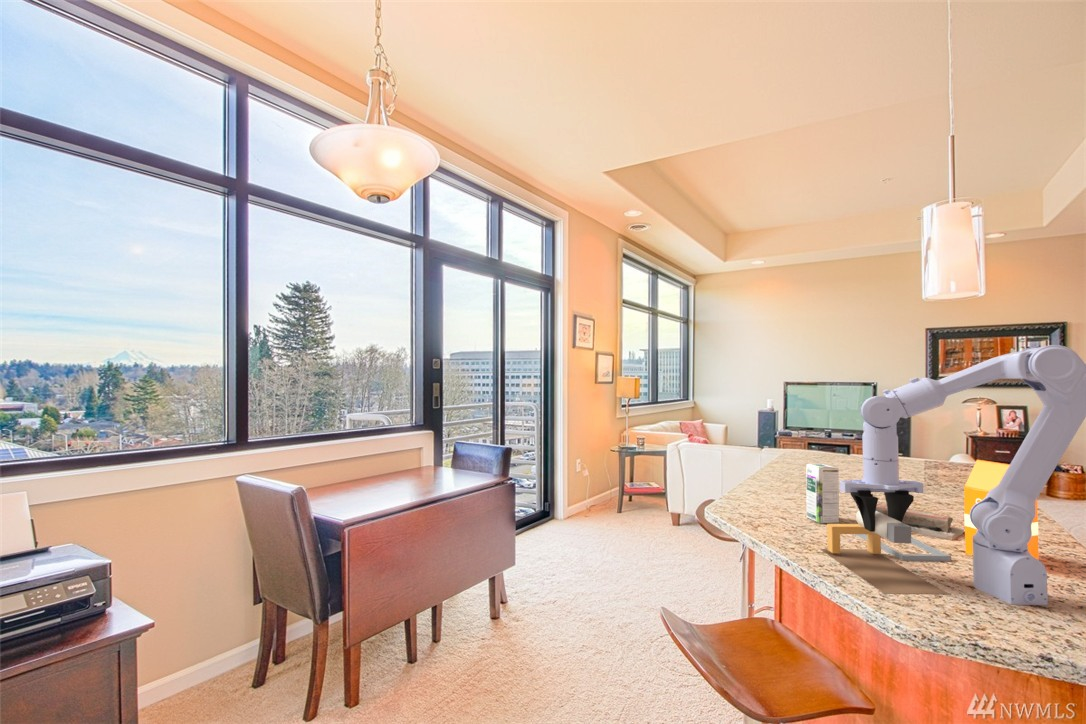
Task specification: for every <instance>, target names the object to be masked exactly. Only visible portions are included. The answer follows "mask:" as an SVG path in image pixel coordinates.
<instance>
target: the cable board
mask: <svg viewBox="0 0 1086 724" xmlns="http://www.w3.org/2000/svg"><path fill="white" fill-rule="evenodd" d="M819 550H820V551H822V552H823V553H825V554H826V555H828V556H829V557H830V558H832V559H833V560H834V561H836V562H838V563H839V564H840V565H842V566H843V567H845V568H846V569H848V570H849V571H850V572H852V573H853V574H855V575H856V576H858V577H859V578H861V579H862V580H864V581H865V582H866V583H868V584H869V585H871V586H872V587H874V588H875V589H877V591H880V592H881V593H882V594H883V595H947V596H949V595H951V594H950V593H948V592H947V591H945V590H944V589H942V588H941V587H938V586H937V585H935V584H934V583H931V582H929V581H928V580H926V579H924V578H923V577H921V576H919V575H917V574H916V573H914V572H912V571H910V570H909V569H907V568H905V567H904V566H902V565H900V564H899V563H897V562H895V561H893V560H891V559H889V558H888V557H886V556H885V555H883V554H873V553H871V552H869V551H868V550H867V548H866V549H864V548H863V549H861V548H859V549H858V548H857V549H856V548H855V549H854V548H851V549H850V548H847V549H846V548H840V553H831V552H830V551H828V548H820V549H819Z"/></svg>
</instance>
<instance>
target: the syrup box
mask: <svg viewBox="0 0 1086 724" xmlns="http://www.w3.org/2000/svg"><path fill="white" fill-rule="evenodd" d="M805 467H806V470H805V474H806V475H805V476H806V478H805V479H806V480H805V481H806V485H805V487H806V488H805V489H806V492H805V493H806V494H805V495H806V496H805V497H806V504H805V506H806V516H805V517H806V518H807V519H810V520H812V521H813V522H815V523H818V524H840V516H839V515H840V499H839V497H840V496H839V494H840V493H839V492H840V480H839V478H840V477H839V473H840V472H839V471H840V470H839V467H836V466H832V465H829V464H825V463H816V462H815V463H807V464H806V466H805Z"/></svg>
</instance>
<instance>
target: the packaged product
mask: <svg viewBox="0 0 1086 724" xmlns="http://www.w3.org/2000/svg"><path fill="white" fill-rule="evenodd" d="M876 511H878V512H880V513H882V514H884V515H887V516H888V509H887V503H886V504H885V503H880V502H879V503H878V502H877V506H876ZM953 521H954V519H953V517H951V516H948V515H943V514H939V513H934V512H928V511H924V510H920V509H919V510H918V509H913V508H908V509H907V511H906V513H905V515H904V518H903V520H902V523H904V524H906V525H909V526H911V534H912V533H913V534H918V535H923V536H927V537H930V538H931V537H932V538H937V539H943V540H947V541H953V540H955V539H956V538H958V537H960V536H962V535H963V533H964V534H965V528H961V527H959V528H957V527H955V526H952V522H953Z"/></svg>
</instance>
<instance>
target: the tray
mask: <svg viewBox="0 0 1086 724" xmlns="http://www.w3.org/2000/svg"><path fill="white" fill-rule="evenodd" d="M854 535H855V536H857V537H859V538H861V539H863V540H864V541H866V542H867V534H854ZM910 544H912V545H913V546H916V547H917V548H919V549H921V550H924V551H926V552H928V553H929V554H928V553H927V554H926V553H924V554H923V553H922V554H921V553H909V554H908V553H903V552H901V551H899V550H897V549H895V548H893V547H891V546H889V544H888V545H887V544H886V543H884V542H882V541H881V551H884V552H886V553H888V554H889V555H891V556H893V557H895V558H897V559H898V560H900V561H905V562H907V561H908V562H952V555H950V554H949V553H946V552H944V551H942V550H940V549H938V548H935V547H933V546H931V545H929V544H927V543H925V542H923V541H921V540H919V539H916V538H914V537H912V536H911V543H910Z"/></svg>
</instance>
